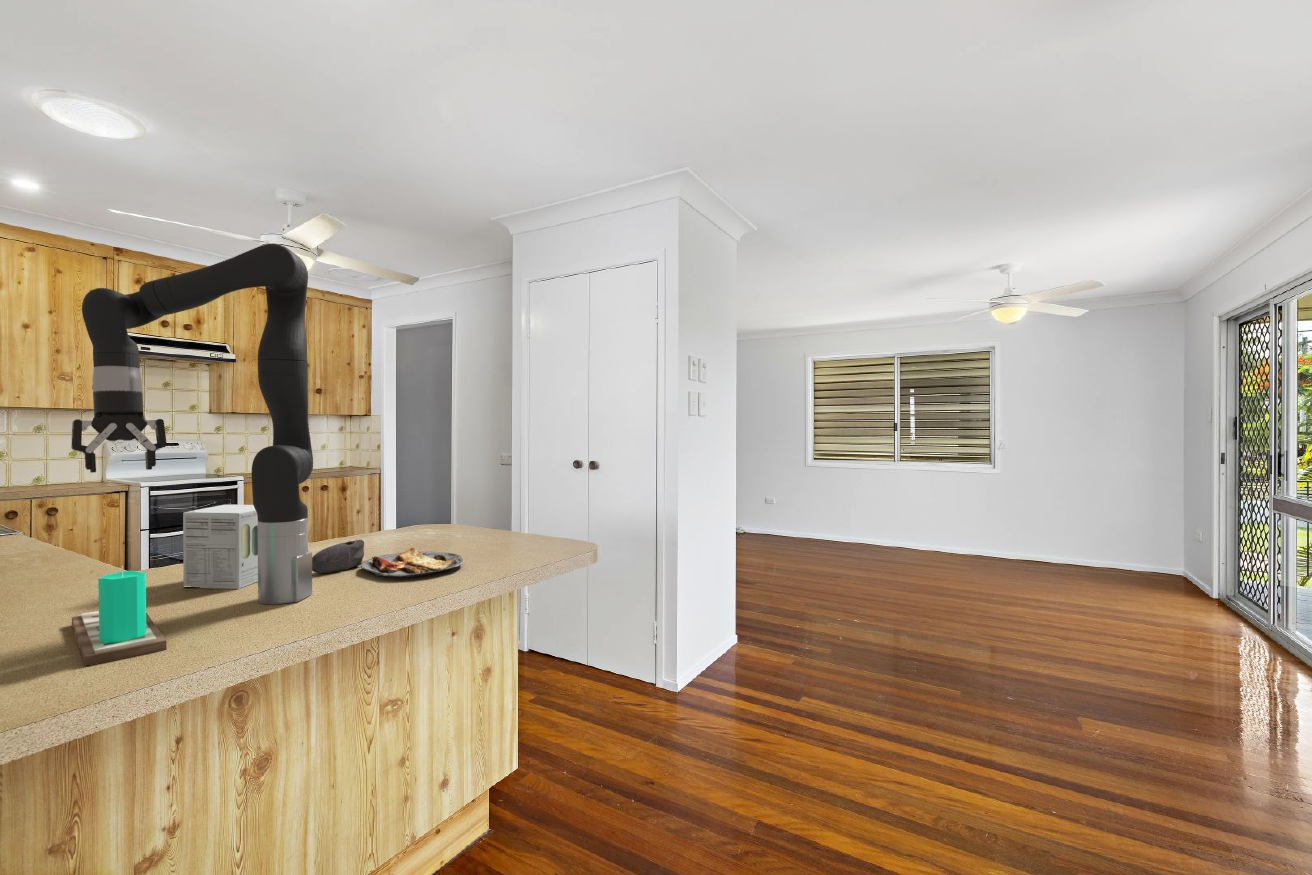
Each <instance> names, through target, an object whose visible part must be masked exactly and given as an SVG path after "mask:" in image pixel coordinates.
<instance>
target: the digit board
mask: <svg viewBox="0 0 1312 875" xmlns="http://www.w3.org/2000/svg"><path fill="white" fill-rule="evenodd" d="M71 627H72V630H73V629H74V630H73V634H74V636H75V639H76V642H77V645H78V649H79V648H80V649H79V651H81V652H80V654H82V655H81V658H82V657H83V658H82V661H83V660H84V661H83V663H85V664H84V666H85V667H88V666H87V665H90V666H92V665H91V664H94V665H97V664H96V663H99V664H102V663H103V664H104V663H108V662H112V661H118V660H122V659H127V658H132V657H136V656H142V655H145V654H146V655H147V654H150V653H156V652H160V651H165V650H168V649H167V639H166V638H165V636H164V635H163V633H162V632H161V631H160V629H159V628H158V626H157V625H156V624H155V622H154V621H153V619H152V618H151V617H150V615H149V614H148V613H147V612H146V634H145V635H143V636H141V637H139V638H136V639H132V640H128V641H123V642H116V643H103V642H100V641H99V610H97V611H96V610H95V611H90V612H84V613H80V615H77V616H72V617H71ZM117 659H118V660H117Z"/></svg>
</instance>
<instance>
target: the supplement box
mask: <svg viewBox="0 0 1312 875" xmlns="http://www.w3.org/2000/svg"><path fill="white" fill-rule="evenodd" d="M182 517H183V518H182V521H183V522H182V528H183V529H182V546H183V547H182V548H183V551H182V552H183V556H182V557H183V562H182V563H183V571H182V572H183V581H182V583H183V587H184V586H191V587H200V588H199V589H218V590H219V589H220V590H221V589H226V590H239V589H243V588H244V587H247V586H250V585H252V584H255V583H258V517H257V512H256V510H255V508H254V505H253V504H222V505H221V504H220V505H215V506H211V507H203V508H199V509H195V510H189V511H185V512H183V513H182Z"/></svg>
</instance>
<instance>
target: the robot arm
mask: <svg viewBox="0 0 1312 875" xmlns="http://www.w3.org/2000/svg"><path fill="white" fill-rule="evenodd" d="M308 283H309V271H308V268H307V265H306V264H305V262H304V260H303V259H302V258H301V257H300V256H298V255H297V254H296V253H295V252H293V251H292V250H291V249H290V248H287V247H286V246H284V245H282V244H278V243H265V244H261V245H258V246H257V247H254V248H252V249H249V250H247V251H245V252H242V253H240V254H237V255H235V256H232V257H230V258H227V259H225V260H223V261H219V262H217V263H214V264H211V265H208V266H204V267H202V268H197V269H195V270H191V271H187V272H183V273H179V274H174V275H171V276H166V277H162V278H158V279H153V280H150V281H147V282H144V283H142V284H141V285H140V287H139V290H138V291H136V292H133V293H128V294H123V293H122V292H119V291H116V290H114V289H112V288H106V287H105V288H104V287H98V288H93V289H91V290H90V291H88V292H87V293H86V294H85V296H84V297H83V299H82V304H81V314H82V319H83V322H84V325H85V329H86V332H87V335H88V337H89V340H90V342H91V344H92V345H91V346H92V362H93V372H92V385H91V389H92V397H93V398H92V399H93V401H92V402H93V404H92V405H93V418H92V420H81V419H80V418H79V419H77V418H76V419H74V420H73V421H72V423H71V447H70V448H71V450H73V451H76V452H79V453H80V452H81V453H83V455H84V467H85V469H86V470H88V471H89V472H90V473H97V462H96V461H97V460H96V458H97V457H96V453H95V452H94V451H96V449H98V448H99V446H101V445H102V443H104V441H105V440H106V441H108V442H115V441H116V442H117V441H125V442H127V441H133V440H135V441H136V442H137V443H138V444H140V445H141V446H142V447H143V448H145V449H146V451H145V452H144V454H145V455H144V456H145V458H144V459H145V470H146V471H148V470H149V471H150V470H153V467H156V465H157V459H156V457H157V456H156V455H157V454H156V451H157V450H160V449H163V448H166V447H167V446H168V444H167V436H166V427H165V421H164V419H162V418H157V419H148V420H147V419H146V417H145V415H144V394H143V379H142V374H141V369H140V368H141V367H140V366H141V365H140V364H141V363H140V350H139V347H138V346H139V345H138V344H137V343H136V342H135V341H134V340H133V339H131V337H130V336H129V332H128V330H129V329H131V330H132V329H136V328H140V327H143V326H146V325H148V324H151V323H152V322H154V321H157V320H159V319H160V318H163V317H164V316H169V315H173V314H176V313H181V312H185V311H188V310H193V309H195V308H200V307H202V306H204V305H207V304H209V303H211V302H214V301H215V300H217V299H219V298H221V297H222V296H225V295H227V294H230V293H232V292H235V291H239V290H240V291H241V290H246V289H252V288H261V287H265V294H266V304H267V306H266V308H267V315H266V320H265V325H264V328H263V332H262V334H261V336H260V337H261V338H260V341H259V344H258V347H257V348H258V349H257V379H258V387H259V390H260V392H261V395H262V398H263V400H264V403H265V404H266V407H267V410H268V412H269V414H270V418H271V423H272V434H273V435H272V445H269V446H266V447H264V448H262V449H260V450H259V451H258V452H257V453H256V455H255V456H254V458H253V459H252V464H251V472H250V473H251V492H252V505H254V508H255V510H256V512H257V517H258V582H257V598H258V599H257V602H258V603H259V604H263V605H281V604H288V603H298V602H300V601H302V600H304V599H306V598H308V597H310V596H311V595H312V594H313V571H312V557H313V551H309V548H308V546H309V543H308V541H309V537H308V536H309V534H308V533H309V532H308V530H309V528H308V526H309V525H308V524H309V523H308V520H309V517H308V516H309V514H308V505H306V503H304V502H303V501H302V499H301V496H300V485H301V484H303V483H304V482H307V480H309V478H310V476H311V474H312V472H313V469H314V455H313V448H312V442H311V435H310V427H309V426H310V425H309V393H308V392H309V389H308V388H309V387H308V386H309V372H308V371H309V368H308V365H309V363H308V347H307V342H308V341H307V329H306V306H307V305H306V303H307V302H306V301H307V293H308ZM148 426H149V427H150V429H151V430H152V431H154V432H155V438H156V442H155V443H153V442H151V441H150V440H149V438H148V437H147V436H146V435H145V434H144V433H143V431H144V429H145V428H146V427H148ZM88 427H91V428H93V429H94V430H95V431H96V432H97V433H98V434H97V435H96V436H95V437H94V438H93V439H92V441H91V442H90V443H89V444H88V445H83V444H82V438H83V437H82V435H83V433H82V432H85V431H87V430H88Z"/></svg>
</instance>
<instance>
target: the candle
mask: <svg viewBox="0 0 1312 875" xmlns="http://www.w3.org/2000/svg"><path fill="white" fill-rule="evenodd" d="M146 573H147V572H146V571H137V570H132V569H131V570H126V571H124V565H121V571H119V572H113V573H109V574H106V575H103V576H101V577H99V578H98V583H97V584H98V611H99V641H100V642H103V643H116V642H123V641H128V640H132V639H136V638H139V637H141V636H143V635H145V634H146V613H147V582H146V580H147V578H146V577H147V576H146V575H147V574H146Z"/></svg>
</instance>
